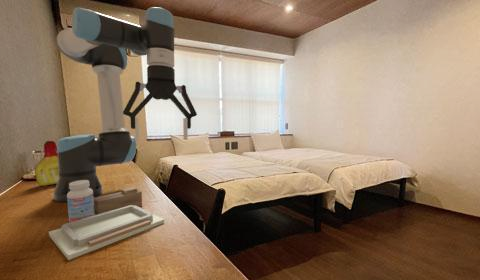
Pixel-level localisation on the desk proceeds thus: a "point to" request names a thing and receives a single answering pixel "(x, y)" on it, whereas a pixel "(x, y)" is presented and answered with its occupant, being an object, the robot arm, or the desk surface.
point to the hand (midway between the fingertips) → (162, 140)
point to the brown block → (117, 200)
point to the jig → (102, 230)
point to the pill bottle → (80, 200)
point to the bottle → (48, 165)
